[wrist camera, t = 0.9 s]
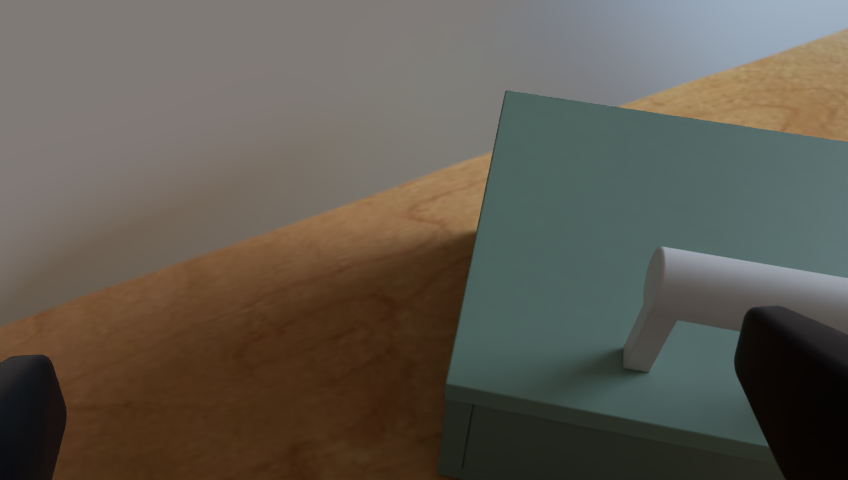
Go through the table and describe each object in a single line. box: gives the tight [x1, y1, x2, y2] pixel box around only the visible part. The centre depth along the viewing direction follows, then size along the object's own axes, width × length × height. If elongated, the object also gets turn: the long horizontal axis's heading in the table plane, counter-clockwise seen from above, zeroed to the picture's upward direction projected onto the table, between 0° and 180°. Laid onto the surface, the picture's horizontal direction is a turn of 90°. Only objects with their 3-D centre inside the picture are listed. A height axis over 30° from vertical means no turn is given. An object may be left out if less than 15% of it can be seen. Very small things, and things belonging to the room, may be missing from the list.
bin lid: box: [444, 91, 848, 465], centre depth 20 cm, size 12×15×5 cm
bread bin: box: [437, 399, 785, 480], centre depth 25 cm, size 12×15×7 cm
